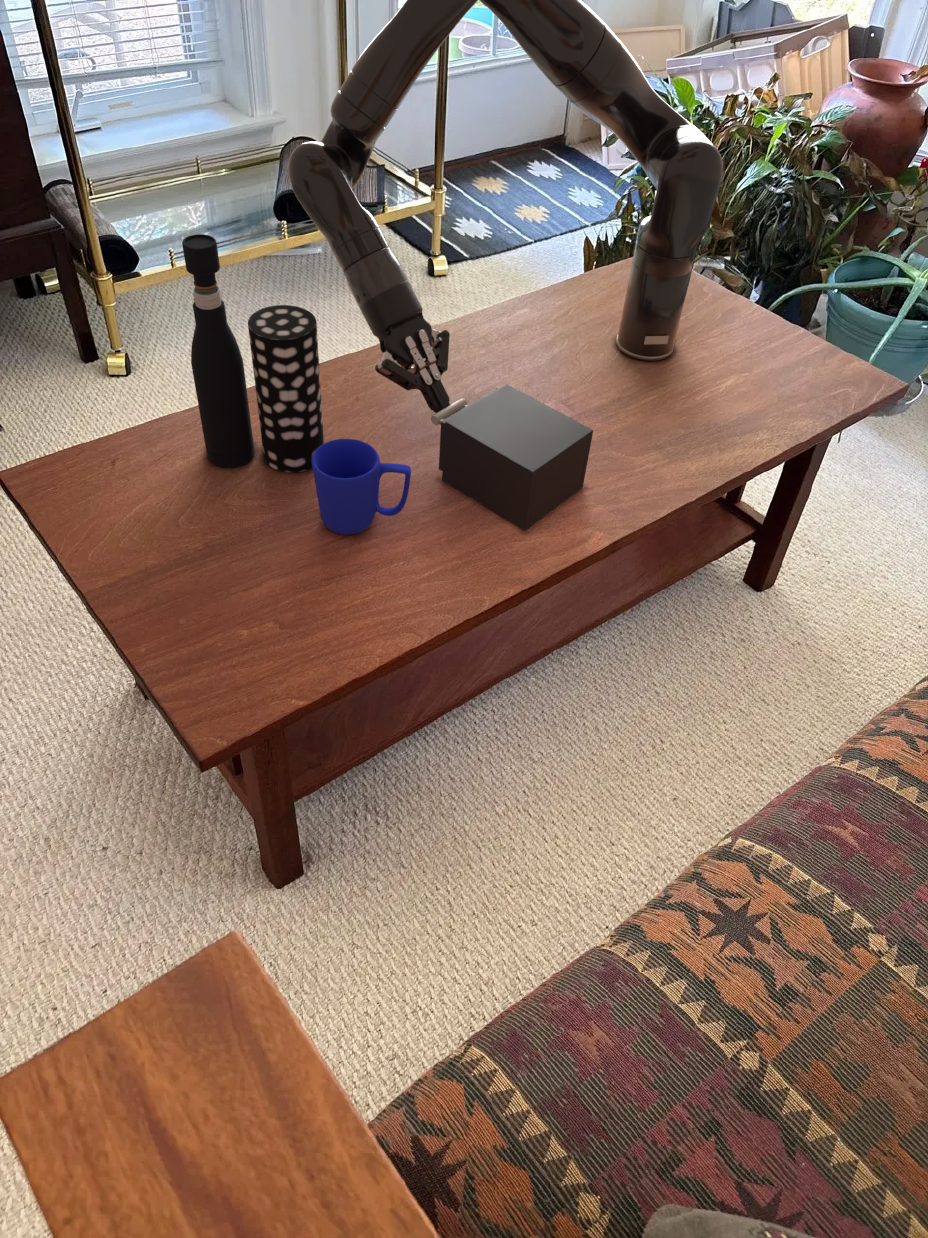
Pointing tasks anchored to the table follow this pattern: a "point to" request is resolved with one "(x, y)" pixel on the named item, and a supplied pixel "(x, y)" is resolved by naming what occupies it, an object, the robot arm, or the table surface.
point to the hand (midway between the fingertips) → (443, 409)
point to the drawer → (446, 415)
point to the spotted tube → (287, 385)
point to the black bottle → (217, 362)
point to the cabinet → (515, 455)
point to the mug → (352, 484)
